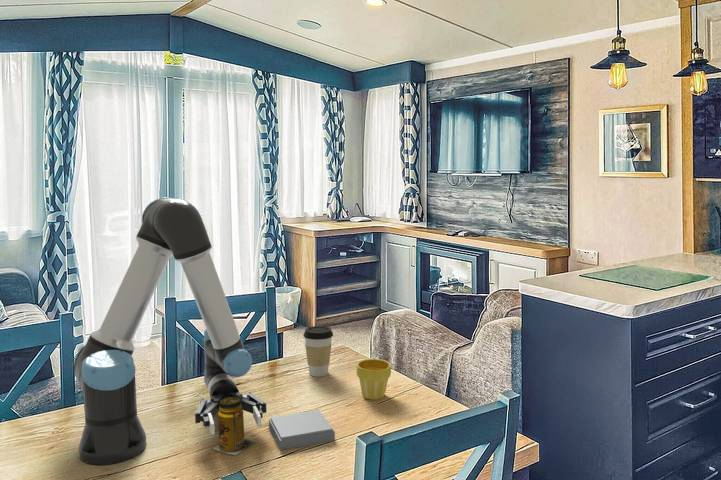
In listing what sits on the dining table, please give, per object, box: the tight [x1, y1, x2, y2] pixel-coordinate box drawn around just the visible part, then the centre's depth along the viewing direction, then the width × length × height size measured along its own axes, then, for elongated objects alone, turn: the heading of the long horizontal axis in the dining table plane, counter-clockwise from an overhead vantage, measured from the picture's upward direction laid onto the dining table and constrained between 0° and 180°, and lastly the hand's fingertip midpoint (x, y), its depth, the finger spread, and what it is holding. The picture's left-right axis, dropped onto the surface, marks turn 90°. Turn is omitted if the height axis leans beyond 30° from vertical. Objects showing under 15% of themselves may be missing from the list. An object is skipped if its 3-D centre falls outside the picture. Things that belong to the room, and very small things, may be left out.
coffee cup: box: [303, 325, 334, 378], centre depth 193 cm, size 10×10×15 cm
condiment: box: [212, 397, 258, 456], centre depth 144 cm, size 7×8×12 cm
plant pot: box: [356, 358, 392, 401], centre depth 175 cm, size 10×10×10 cm
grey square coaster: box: [268, 409, 336, 451], centre depth 150 cm, size 14×13×3 cm
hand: (236, 425), depth 140 cm, fingers open, 10 cm apart
